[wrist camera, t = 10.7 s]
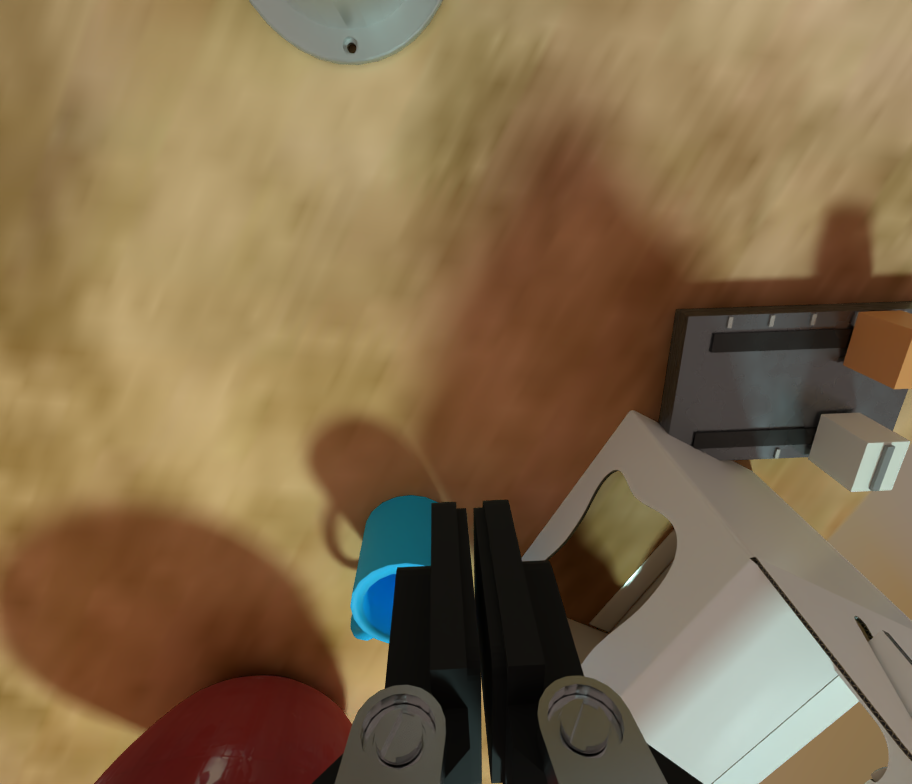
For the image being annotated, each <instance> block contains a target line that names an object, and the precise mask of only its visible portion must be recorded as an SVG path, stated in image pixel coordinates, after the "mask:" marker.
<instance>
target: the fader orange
mask: <svg viewBox="0 0 912 784" xmlns="http://www.w3.org/2000/svg"><path fill="white" fill-rule="evenodd" d="M843 365H844V366H846V367H848V368H850V369H852V370H854V371H856V372H858V373H861V374H863V375H865V376H867V377H869V378H871V379H873V380H875V381H878V382H880V383H882V384H884V385H886V386H888V387H890V388H892V389H912V314H911V313H908V312H904V311H901V310H896V311H867V312H859V313H858V316H857V320H856V323H855V326H854V330H853V333H852V336H851V339H850V343H849V346H848V349H847V353H846V356H845V359H844V362H843Z"/></svg>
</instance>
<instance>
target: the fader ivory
mask: <svg viewBox="0 0 912 784" xmlns="http://www.w3.org/2000/svg"><path fill="white" fill-rule="evenodd" d="M909 444H910V441H909V440H907V439H906V438H904V437H902V436H900V435H898V434H897V433H895V432H893V431H891V430H890V429H888V428H886V427H884V426H883V425H881V424H879V423H877V422H875V421H874V420H872V419H870V418H868V417H867V416H865V415H863V414H861V413H836V414H821V417H820V421H819V424H818V427H817V431H816V434H815V437H814V441H813V444H812V447H811V451H810V454H809V457H808V459H809V460H810V461H811V462H813V463H814V464H815V465H817V466H818V467H819V468H820V469H822V470H823V471H824V472H826V473H827V474H828V475H830V476H831V477H832V478H833V479H835V480H836V481H837V482H839V483H840V484H841V485H843V486H844V487H845V488H846V489H848V490H849V491H850V492H858V491H879V490H892V488H893V485H894V482H895V480H896V477H897V475H898V472H899V469H900V467H901V464H902V462H903V459H904V457H905V454H906V452H907V449H908V446H909Z"/></svg>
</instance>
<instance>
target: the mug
mask: <svg viewBox="0 0 912 784" xmlns="http://www.w3.org/2000/svg"><path fill="white" fill-rule="evenodd" d="M431 503H438V502H436V501H434V500H431V499H429V498H427V497H421V496H414V495H407V496H399V497H395V498H392V499H390V500H388V501H385V502H383V503H382V504H380V505H379V506H378V507H377V508H376V509H374V510H373V511H372V513H371V515H370V516H369V518H368V520H367V521H366V526H365V531H364V536H363V541H362V546H361V551H360V557H359V562H358V567H357V572H356V577H355V582H354V588H353V593H352V599H351V606H350V607H351V610H352V617H351V630H352V633H353V635H354V636H355V637H356V638H357V639H361V640H370V639H372V638H375V639H377V640H380V641H383V642H386V643H389V641H390V630H391V620H392V610H393V599H394V589H395V578H396V570H397V567H414V566H431Z"/></svg>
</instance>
